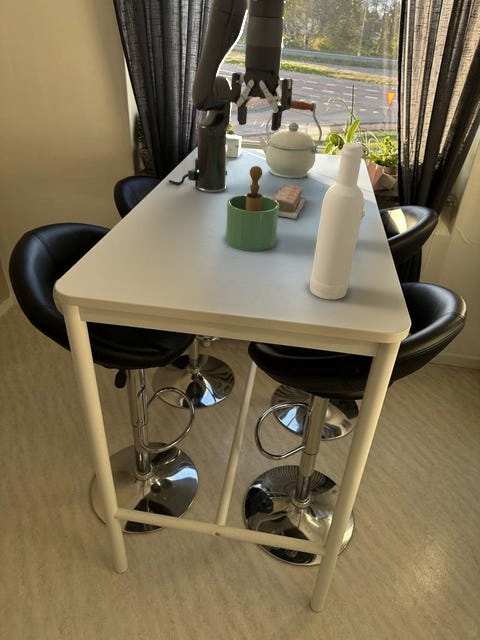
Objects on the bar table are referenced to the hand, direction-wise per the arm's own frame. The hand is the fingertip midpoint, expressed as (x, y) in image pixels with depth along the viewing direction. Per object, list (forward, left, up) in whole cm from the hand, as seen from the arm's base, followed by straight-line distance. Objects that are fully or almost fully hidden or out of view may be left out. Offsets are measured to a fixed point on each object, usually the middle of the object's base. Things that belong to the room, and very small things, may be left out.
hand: (258, 127), depth 103 cm
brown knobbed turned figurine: (0, 0, -27) cm, 27 cm away
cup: (0, 0, -28) cm, 28 cm away
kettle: (-24, +63, -28) cm, 73 cm away
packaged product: (-5, +28, -28) cm, 40 cm away
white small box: (-53, +70, -27) cm, 91 cm away
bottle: (+27, -12, -28) cm, 40 cm away
